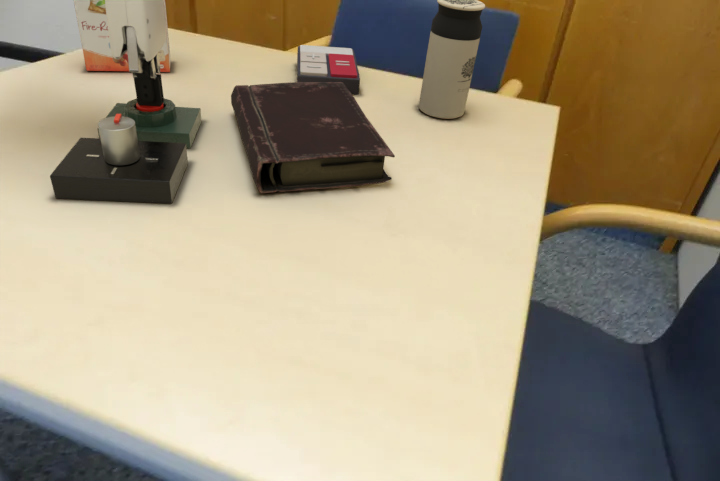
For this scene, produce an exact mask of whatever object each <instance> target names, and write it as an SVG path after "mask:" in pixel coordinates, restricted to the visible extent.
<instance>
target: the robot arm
mask: <svg viewBox="0 0 720 481" xmlns="http://www.w3.org/2000/svg"><path fill="white" fill-rule="evenodd" d="M105 6H106V16H107V24H108V33H109V40H110V48H111V54H112V56H113V57H114V58H115V59H120V58H121V57H122V56H123V55H124V54H125V53H126V52H127V51H128V64H129V71H128V72H129V74H132V77H133V84H134V88H135V95H136V98H137V103H138V104H139V105H144V106H161V105H162V103H163V101H164V98H165V97H164V88H163V81H162V74H161V72H160V60H159V51H160V49H161V48H162V47H163V45H164V44H165V41H166V24H165V14H164V7H163V0H105Z"/></svg>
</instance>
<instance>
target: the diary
mask: <svg viewBox="0 0 720 481" xmlns="http://www.w3.org/2000/svg"><path fill="white" fill-rule="evenodd" d="M230 102H231V103H230V104H231V106H232V109H233V112H234V115H235V118H236V122H237V125H238V130H239V133H240V137H241V140H242V145H243V146H244V149H245V153H246V155H247V158H248V162H249V166H250V170H251V171H250V172H251V174H252V179H253V181H254V184H255V185H256V187H257V190H258V191H259V193H261V194H266V193H267V194H269V193H277V192H279V193H281V192H284V193H285V192H296V191H309V190H311V191H312V190H323V189H337V188H351V187H359V186H367V185H378V184H384V183H386V182H389V181H392V177H391V176H389V175H388V173H387V172H386V171H385V170H384V167H385V159H386V157H390V158H395V156H396V155H395V154H394V153H393V151H392V149H391V148H390V147H389V146H388V144H387V143H386V142H385V140H384V139H383V138H382V136H381V135H380V133H379V132H378V131H377V129H376V128H375V127H374V125H373V124H372V123H371V121H370V120H369V118H367V116H366V114H365V113H364V111H363V109H362V108H361V106H360V105H359V103H358V101H357V100H356V98H355V96H354V95H352V94H351V93H350V91H349V90H348V89H347V87H346V86H345V85H344V84H343V82H297V81H296V82H291V81H290V82H277V83H276V82H275V83H261V84H250V85H248V84H246V85H245V84H241V85H239V84H238V85H235V86H233V88H232V92H231V94H230Z"/></svg>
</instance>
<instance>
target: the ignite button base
mask: <svg viewBox="0 0 720 481" xmlns="http://www.w3.org/2000/svg"><path fill="white" fill-rule="evenodd" d="M136 103H137V97H135V98H134V99H131V100H129V101H127V102H126V103H125V102H116V103H115V105H114V106H113V108H112V109H111V110H110V112H109V113H108V115H106V117H105V118H108V117H114V116H116V114H121V116H124V117H129V118H131V119H133V120H134V121H135V125H136V132H137V138H138V141H152V142H170V143H186V149H191V147H193V146H192V145H193V143H194V140H195V138H196V136H197V133H198V131H199V129H200V126H201V124H202V113H201V112H202V111H201V110H202V109H201V108H200V107H189V106H188V107H186V106H176V104H175V103H174V102H173V101H172V100H171V99H168V98H165V97H164V101H163V104H164V109H161V110H159V111H153V112H146V111H140V110H137V107H136ZM97 133H98V138H99V139H100V134H99V129H98V128H97Z"/></svg>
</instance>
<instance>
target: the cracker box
mask: <svg viewBox="0 0 720 481" xmlns="http://www.w3.org/2000/svg"><path fill="white" fill-rule="evenodd" d="M73 5H74V11H75V15H76V22H77V28H78V33H79V39H80V43H81V48H82V49H81V50H82V54H83V58H84V59H83V60H84V65H85V70H86V71H87V72H129V64H128V51H127V52H126V53H125V54H124V55H123V56H122V57H121V58H120V59H115V58H114V57H113V56H112V54H111V48H110V40H109V33H108V24H107V16H106V6H105V0H73ZM166 5H167V4H166V0H163V7H164V14H165V24H166V41H165V44H164V45H163V47H162V48H161V49H160V51H159V60H160V73H171V62H172V59H171V47H170V37H169V26H168V17H167V6H166Z"/></svg>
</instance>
